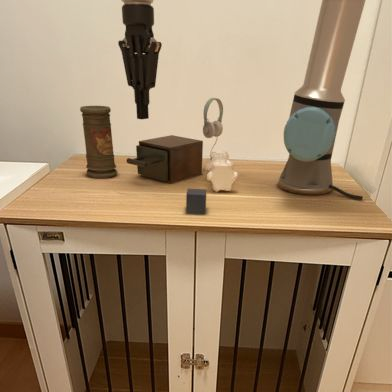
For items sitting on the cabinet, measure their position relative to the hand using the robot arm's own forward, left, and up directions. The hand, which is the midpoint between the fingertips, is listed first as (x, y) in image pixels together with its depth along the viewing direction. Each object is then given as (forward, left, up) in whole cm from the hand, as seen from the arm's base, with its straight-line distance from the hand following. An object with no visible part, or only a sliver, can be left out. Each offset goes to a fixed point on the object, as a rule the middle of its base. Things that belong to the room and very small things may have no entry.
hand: (142, 118), depth 110 cm
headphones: (-4, -26, -17) cm, 31 cm away
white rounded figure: (-18, -12, -17) cm, 27 cm away
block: (-27, +10, -16) cm, 33 cm away
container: (+15, +4, -17) cm, 23 cm away
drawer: (0, -6, -16) cm, 17 cm away
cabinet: (0, -11, -16) cm, 20 cm away
